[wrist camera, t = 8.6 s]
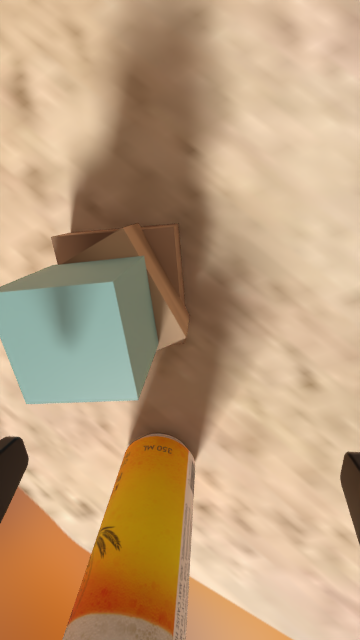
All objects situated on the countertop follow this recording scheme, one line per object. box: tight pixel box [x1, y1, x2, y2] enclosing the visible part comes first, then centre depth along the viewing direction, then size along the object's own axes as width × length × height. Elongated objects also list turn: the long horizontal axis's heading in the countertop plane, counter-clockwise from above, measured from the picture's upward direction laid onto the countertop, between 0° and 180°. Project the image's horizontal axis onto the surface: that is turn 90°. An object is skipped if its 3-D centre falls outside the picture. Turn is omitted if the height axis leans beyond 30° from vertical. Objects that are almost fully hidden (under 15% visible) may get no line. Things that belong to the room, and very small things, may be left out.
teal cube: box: [0, 256, 159, 404], centre depth 12 cm, size 4×4×4 cm
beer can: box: [63, 433, 195, 640], centre depth 18 cm, size 6×6×15 cm
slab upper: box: [63, 223, 190, 351], centre depth 16 cm, size 6×6×3 cm
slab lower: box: [51, 224, 185, 344], centre depth 18 cm, size 7×7×3 cm
